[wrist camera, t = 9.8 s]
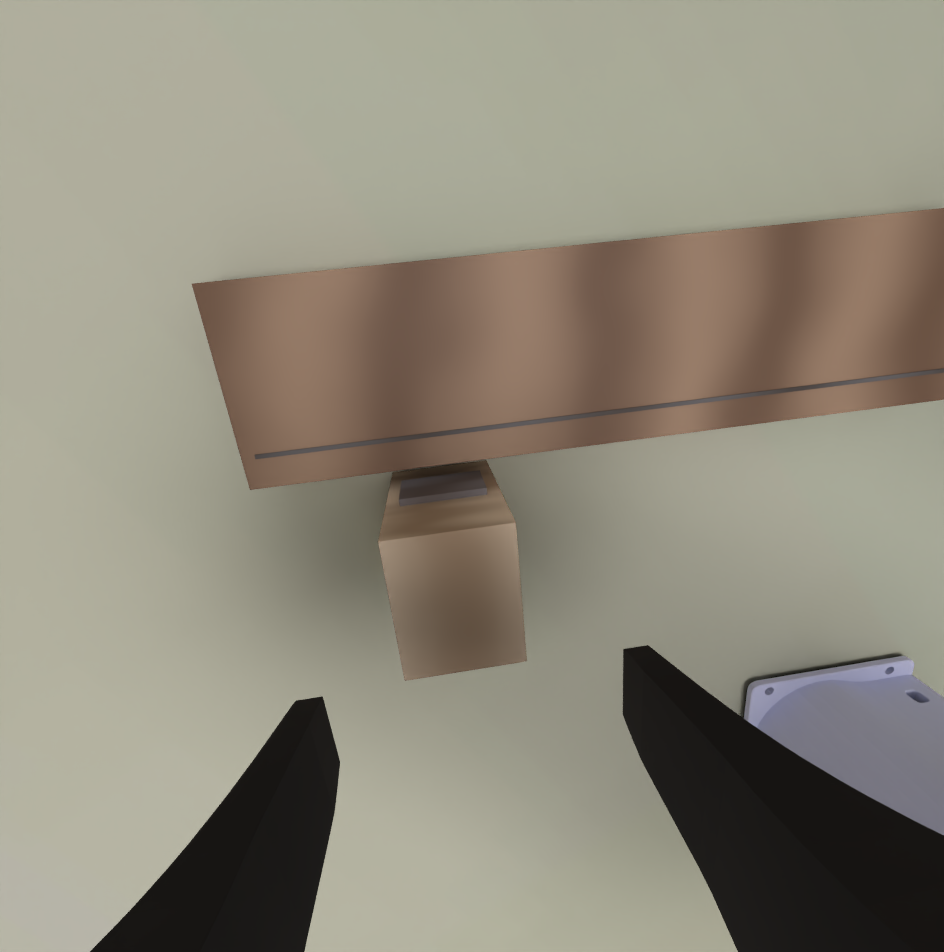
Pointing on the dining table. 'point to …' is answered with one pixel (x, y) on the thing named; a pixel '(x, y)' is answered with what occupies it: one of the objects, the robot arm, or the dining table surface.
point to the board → (575, 344)
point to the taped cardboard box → (452, 571)
